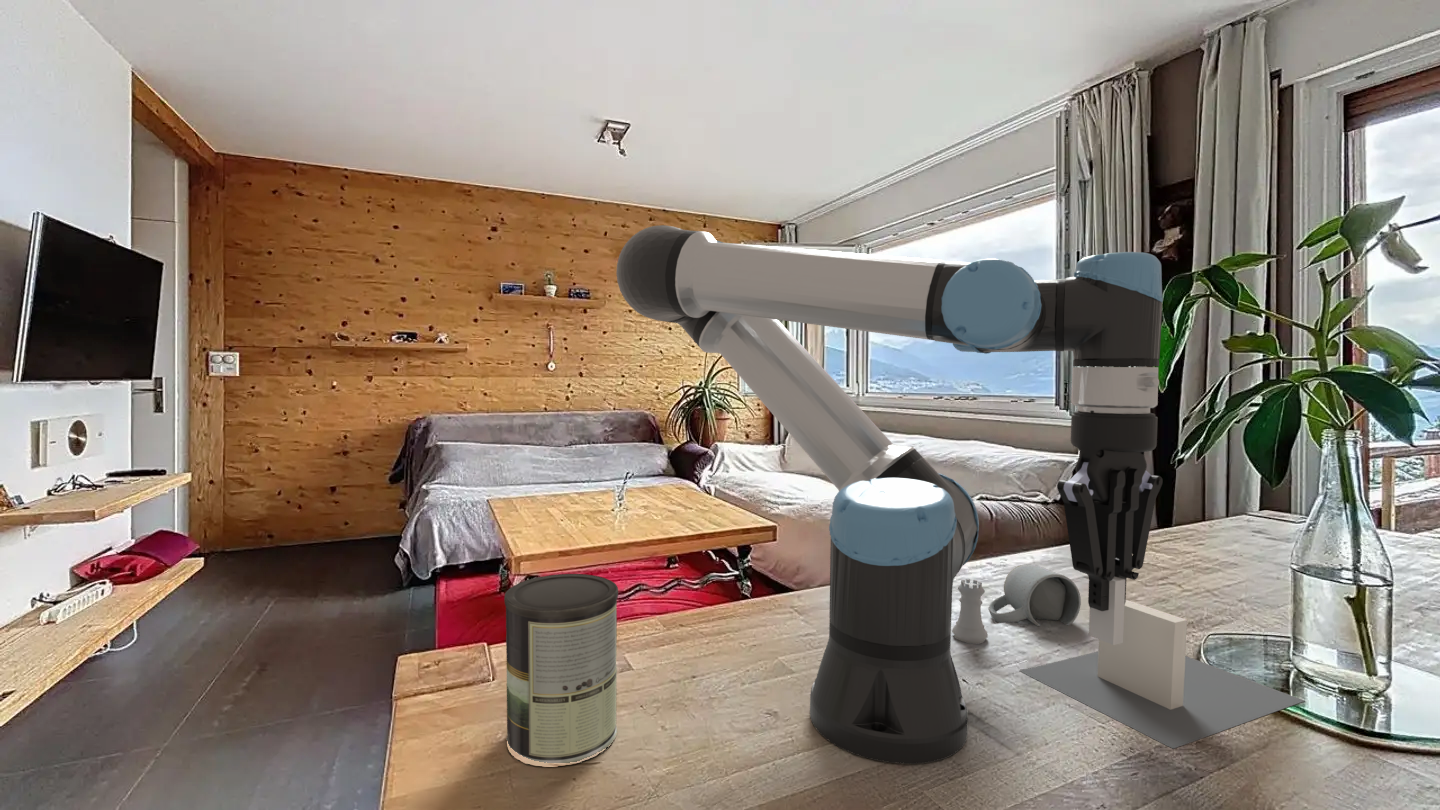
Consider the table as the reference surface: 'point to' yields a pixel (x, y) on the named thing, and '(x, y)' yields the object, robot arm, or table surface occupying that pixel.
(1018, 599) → the ceramic mug
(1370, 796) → the table surface
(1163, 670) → the tile
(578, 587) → the coffee can
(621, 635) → the table surface
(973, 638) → the rook chess piece
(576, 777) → the table surface
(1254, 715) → the mat
